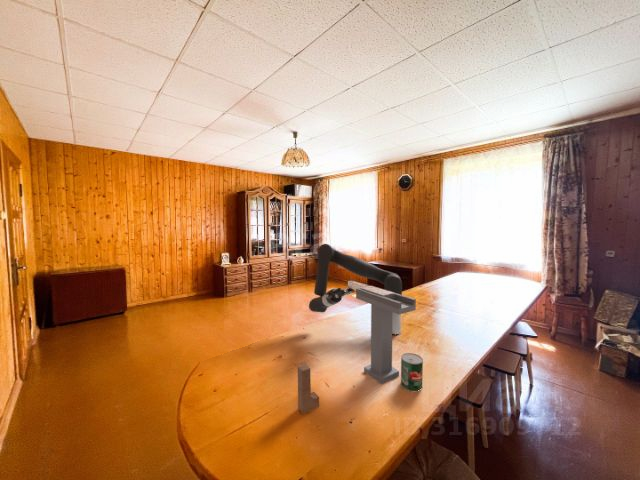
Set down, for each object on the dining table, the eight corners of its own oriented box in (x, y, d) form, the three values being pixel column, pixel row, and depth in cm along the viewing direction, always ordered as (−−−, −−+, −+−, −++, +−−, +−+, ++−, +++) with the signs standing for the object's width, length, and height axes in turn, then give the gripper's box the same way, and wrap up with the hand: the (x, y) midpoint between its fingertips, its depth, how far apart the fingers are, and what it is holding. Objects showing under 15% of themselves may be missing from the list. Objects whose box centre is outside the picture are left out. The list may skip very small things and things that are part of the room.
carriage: (344, 287, 123) (344, 281, 123) (354, 286, 126) (354, 280, 126) (383, 301, 102) (383, 293, 102) (394, 299, 105) (394, 291, 105)
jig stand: (355, 365, 116) (355, 288, 113) (372, 358, 121) (372, 285, 119) (396, 395, 95) (398, 303, 93) (415, 386, 100) (416, 298, 98)
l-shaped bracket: (302, 414, 86) (302, 370, 85) (297, 408, 89) (297, 366, 88) (319, 406, 90) (318, 364, 89) (314, 401, 93) (313, 360, 91)
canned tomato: (405, 376, 107) (405, 350, 106) (425, 384, 102) (425, 357, 101) (397, 386, 100) (397, 358, 100) (418, 395, 95) (418, 366, 95)
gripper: (318, 292, 136) (333, 282, 124) (340, 289, 144) (356, 279, 131) (322, 307, 134) (338, 298, 121) (344, 302, 141) (361, 293, 128)
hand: (347, 288), depth 126 cm, fingers open, 8 cm apart
